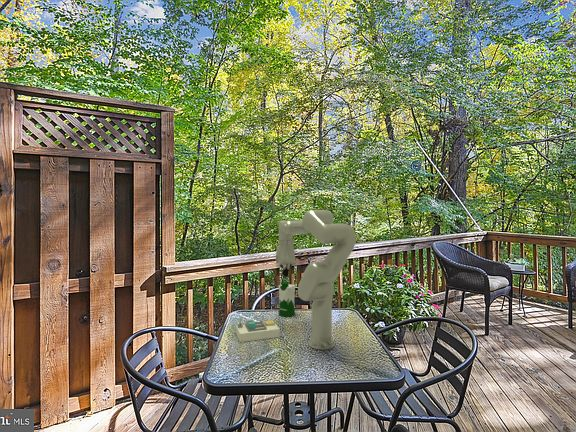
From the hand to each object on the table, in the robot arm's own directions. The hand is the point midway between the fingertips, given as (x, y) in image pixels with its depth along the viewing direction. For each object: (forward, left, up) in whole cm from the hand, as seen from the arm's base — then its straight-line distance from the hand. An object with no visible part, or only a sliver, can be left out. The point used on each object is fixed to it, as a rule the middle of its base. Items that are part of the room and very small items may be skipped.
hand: (285, 276), depth 179 cm
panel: (-9, +18, -27) cm, 34 cm away
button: (-7, +11, -27) cm, 30 cm away
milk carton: (+16, -6, -27) cm, 32 cm away
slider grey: (-7, +22, -23) cm, 32 cm away
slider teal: (-11, +22, -23) cm, 34 cm away
